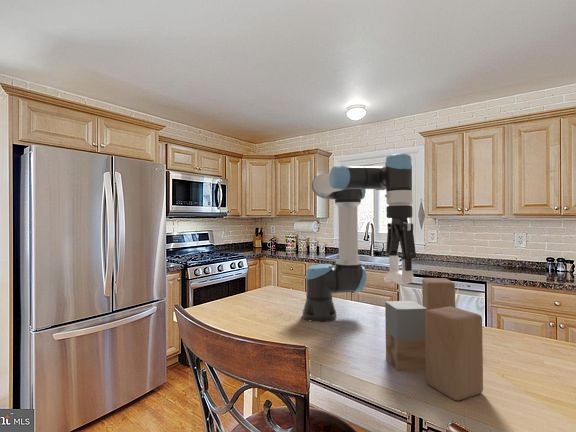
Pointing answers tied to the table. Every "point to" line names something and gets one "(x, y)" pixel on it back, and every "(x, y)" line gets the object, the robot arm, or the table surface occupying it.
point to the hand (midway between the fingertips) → (400, 278)
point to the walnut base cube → (405, 354)
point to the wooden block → (438, 293)
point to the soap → (396, 277)
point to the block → (454, 352)
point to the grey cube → (405, 320)
